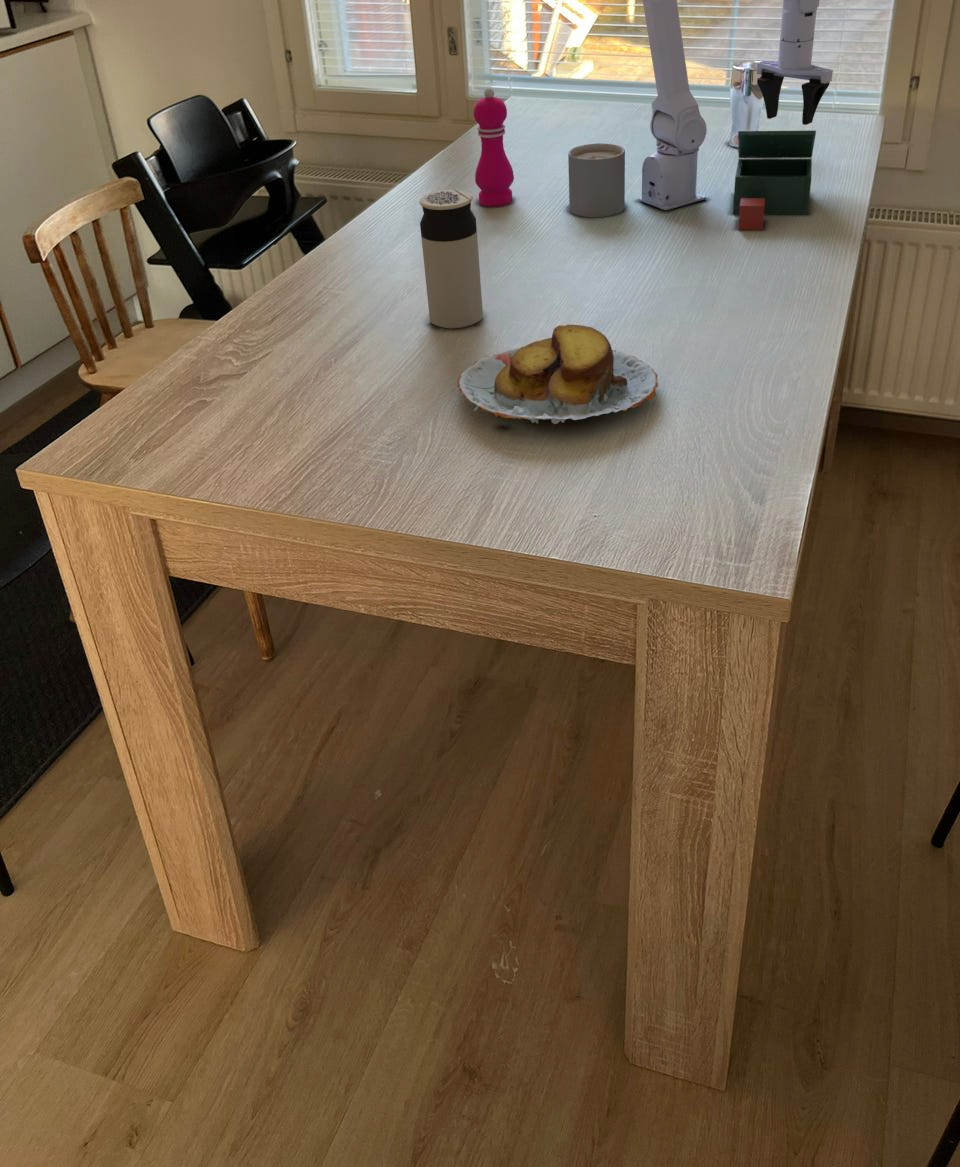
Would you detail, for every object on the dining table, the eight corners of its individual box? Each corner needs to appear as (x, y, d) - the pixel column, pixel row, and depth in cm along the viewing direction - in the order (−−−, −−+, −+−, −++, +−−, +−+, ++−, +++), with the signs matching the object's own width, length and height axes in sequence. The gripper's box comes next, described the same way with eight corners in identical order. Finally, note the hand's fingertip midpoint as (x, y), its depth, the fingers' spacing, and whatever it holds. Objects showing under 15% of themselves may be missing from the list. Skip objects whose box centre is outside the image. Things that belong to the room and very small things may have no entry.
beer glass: (764, 147, 226) (770, 67, 217) (729, 149, 226) (734, 70, 218) (758, 137, 232) (764, 59, 223) (724, 140, 232) (728, 62, 223)
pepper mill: (516, 194, 213) (510, 82, 201) (513, 206, 207) (507, 91, 195) (478, 196, 214) (470, 84, 202) (474, 208, 208) (466, 94, 196)
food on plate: (422, 395, 148) (417, 349, 144) (564, 338, 160) (563, 294, 156) (549, 464, 131) (548, 414, 127) (697, 394, 143) (699, 346, 139)
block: (762, 229, 189) (764, 205, 186) (738, 229, 190) (739, 205, 187) (763, 221, 192) (765, 198, 189) (739, 221, 193) (740, 198, 190)
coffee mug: (617, 218, 198) (617, 160, 192) (563, 216, 201) (561, 158, 195) (633, 194, 208) (634, 138, 202) (581, 192, 211) (580, 137, 205)
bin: (807, 214, 193) (811, 176, 189) (732, 214, 196) (735, 176, 192) (807, 194, 201) (811, 158, 197) (736, 194, 204) (738, 158, 200)
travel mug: (437, 333, 164) (424, 210, 153) (424, 313, 170) (411, 194, 159) (489, 324, 165) (480, 201, 154) (475, 304, 171) (465, 185, 161)
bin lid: (815, 134, 186) (816, 130, 186) (738, 135, 189) (738, 130, 189) (811, 157, 197) (812, 153, 197) (738, 158, 200) (738, 154, 200)
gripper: (846, 38, 194) (836, 121, 202) (775, 30, 203) (769, 110, 211) (822, 46, 190) (813, 130, 198) (751, 38, 199) (746, 118, 207)
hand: (789, 120), depth 204 cm, fingers open, 7 cm apart
